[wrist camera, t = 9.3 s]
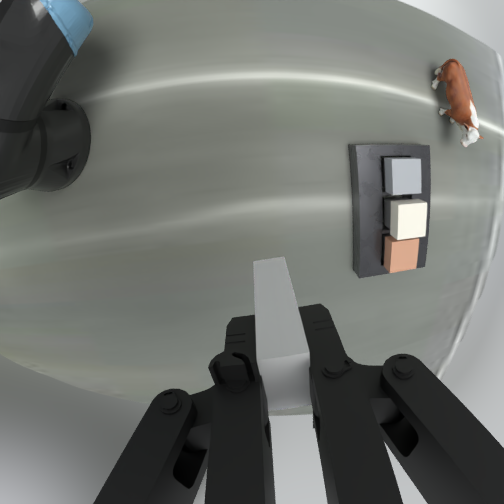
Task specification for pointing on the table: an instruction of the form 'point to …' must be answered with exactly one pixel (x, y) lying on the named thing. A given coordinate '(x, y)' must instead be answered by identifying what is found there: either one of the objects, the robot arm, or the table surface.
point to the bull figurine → (458, 100)
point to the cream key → (405, 217)
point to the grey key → (401, 175)
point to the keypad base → (380, 202)
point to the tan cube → (399, 253)
